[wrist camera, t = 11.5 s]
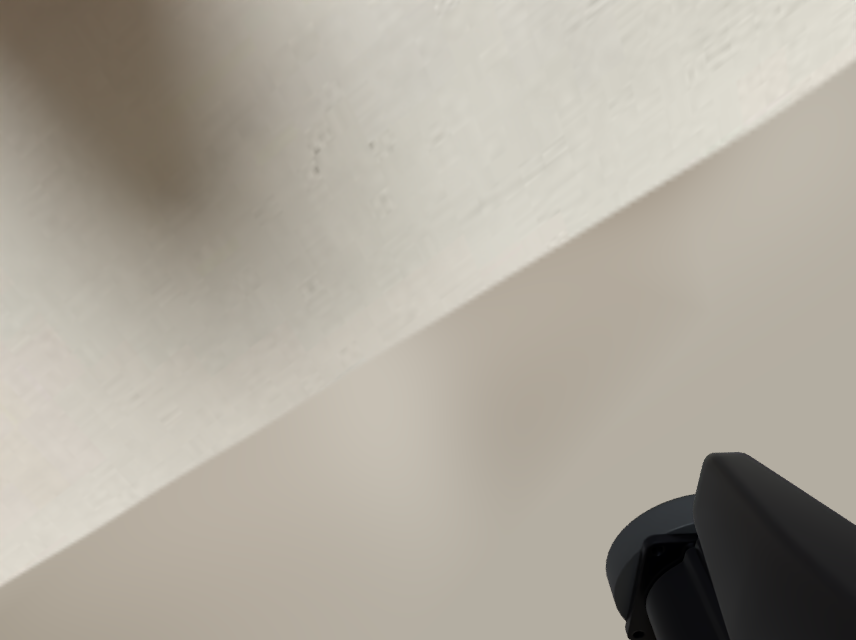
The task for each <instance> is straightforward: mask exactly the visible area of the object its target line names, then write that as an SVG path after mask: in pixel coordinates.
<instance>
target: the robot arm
mask: <svg viewBox="0 0 856 640" xmlns="http://www.w3.org/2000/svg"><path fill="white" fill-rule="evenodd" d="M693 518H694V523H695V527H696V530H697V533H683V534H655V535H650V536H648V537H646V538H645V539H644V540H643V542H642V546H641V551H640V556H639V561H638V566H637V571H636V575H635V580H634V585H633V590H632V595H631V600H630V605H629V609H628V614H627V619H626V624H625V630H626V633H627V637H628V638H629V640H856V525H854V524H853V523H851V522H850V521H848V520H847V519H845V518H844V517H842V516H841V515H839V514H838V513H836V512H835V511H833V510H832V509H830V508H829V507H827V506H826V505H824V504H822V503H821V502H819V501H818V500H816V499H815V498H813V497H812V496H810V495H809V494H807V493H806V492H804V491H803V490H801V489H800V488H798V487H797V486H795V485H793V484H792V483H790V482H789V481H787V480H786V479H784V478H783V477H781V476H780V475H778V474H776V473H775V472H774V471H772V470H770V469H769V468H767V467H766V466H764V465H763V464H761V463H759V462H758V461H757V460H755V459H754V458H752V457H751V456H749V455H747V454H745V453H740V452H730V453H729V452H728V453H712V454H709V455H708V456H707V457H706V458H705V460H704V462H703V465H702V469H701V473H700V478H699V482H698V486H697V490H696V494H695V499H694V503H693Z"/></svg>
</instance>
